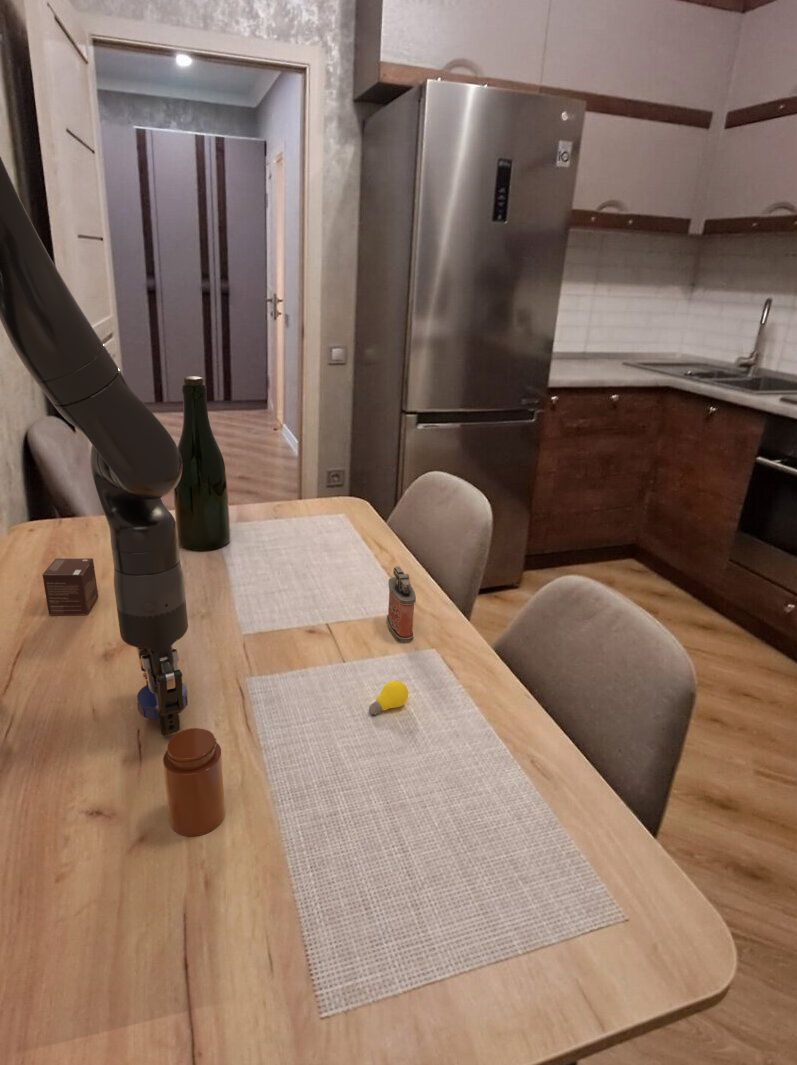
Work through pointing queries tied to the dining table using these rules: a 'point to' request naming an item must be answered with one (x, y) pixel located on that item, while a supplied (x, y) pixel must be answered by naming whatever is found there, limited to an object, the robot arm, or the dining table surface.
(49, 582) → the box
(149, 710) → the jam lid
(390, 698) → the light bulb
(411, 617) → the lighter
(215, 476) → the dark green wine bottle
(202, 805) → the jam jar
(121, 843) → the dining table surface
